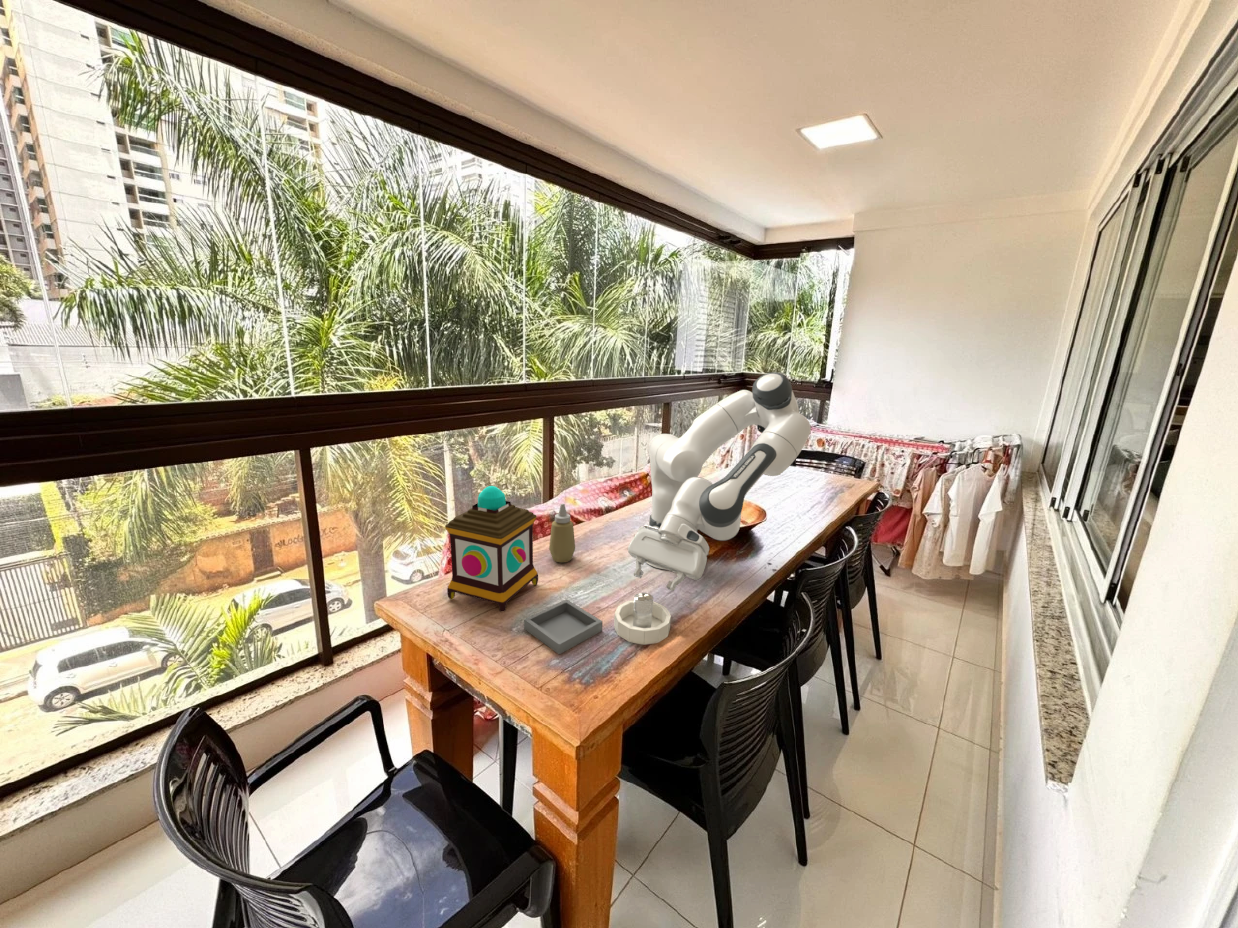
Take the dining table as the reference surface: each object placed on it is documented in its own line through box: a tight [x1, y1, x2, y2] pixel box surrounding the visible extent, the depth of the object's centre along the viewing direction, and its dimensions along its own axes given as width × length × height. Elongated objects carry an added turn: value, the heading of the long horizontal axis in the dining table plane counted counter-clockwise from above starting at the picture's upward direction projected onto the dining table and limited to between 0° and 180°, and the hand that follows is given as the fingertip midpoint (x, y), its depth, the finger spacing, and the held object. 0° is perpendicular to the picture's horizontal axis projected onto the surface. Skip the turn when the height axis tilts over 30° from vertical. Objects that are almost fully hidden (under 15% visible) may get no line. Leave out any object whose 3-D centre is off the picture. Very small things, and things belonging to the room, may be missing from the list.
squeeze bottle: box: [548, 503, 576, 563], centre depth 152 cm, size 8×8×18 cm
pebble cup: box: [633, 592, 654, 628], centre depth 118 cm, size 4×4×9 cm
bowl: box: [613, 599, 672, 645], centre depth 119 cm, size 13×13×4 cm
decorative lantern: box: [444, 485, 539, 612], centre depth 131 cm, size 20×20×30 cm
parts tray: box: [523, 599, 603, 655], centre depth 117 cm, size 13×13×4 cm
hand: (653, 582), depth 121 cm, fingers open, 8 cm apart
